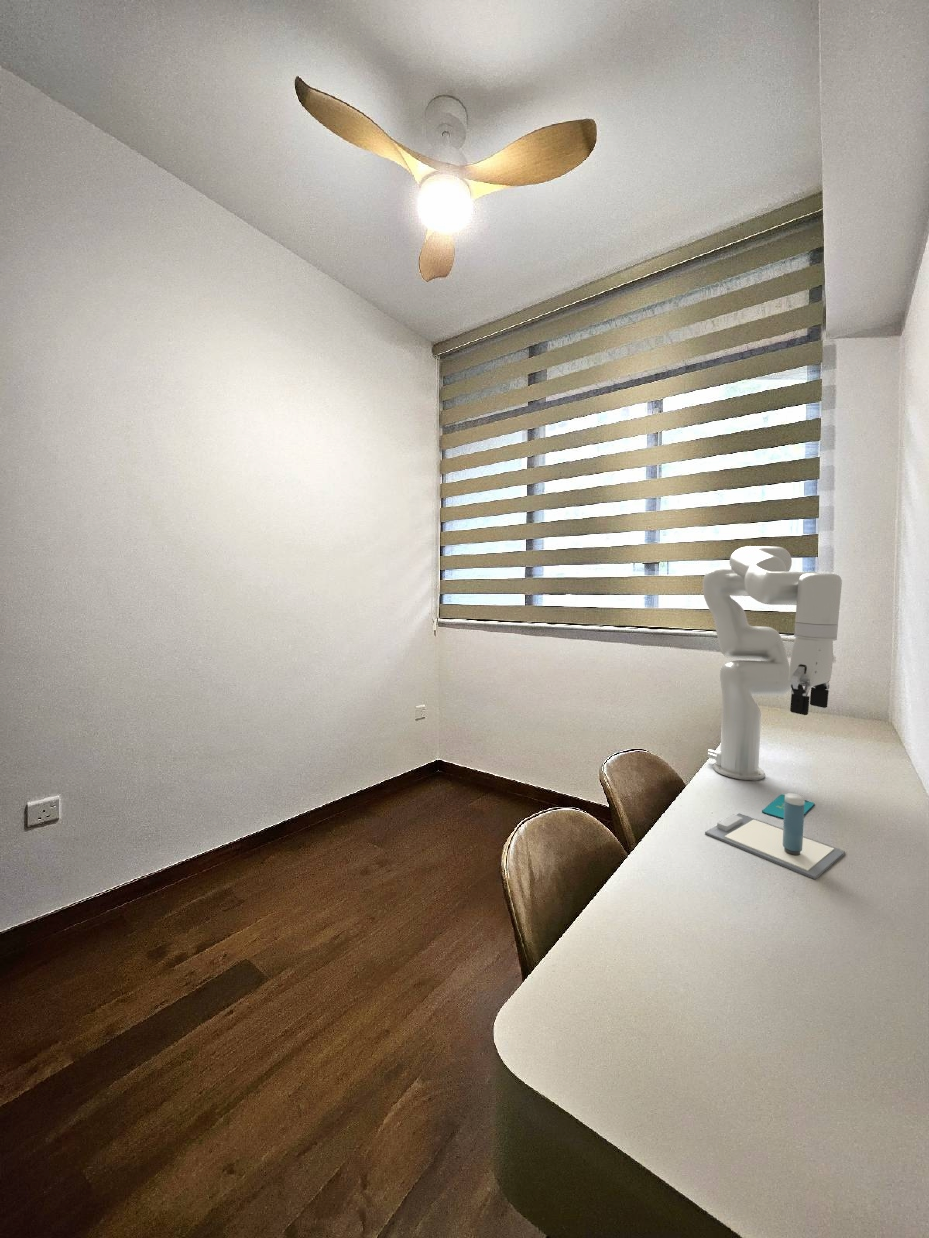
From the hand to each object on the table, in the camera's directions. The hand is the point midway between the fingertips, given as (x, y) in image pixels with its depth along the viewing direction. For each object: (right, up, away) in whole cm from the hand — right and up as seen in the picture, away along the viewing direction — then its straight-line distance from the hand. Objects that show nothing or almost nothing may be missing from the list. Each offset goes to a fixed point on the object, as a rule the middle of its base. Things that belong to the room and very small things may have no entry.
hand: (808, 709), depth 108 cm
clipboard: (-12, -26, -7) cm, 29 cm away
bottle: (-11, -25, -11) cm, 30 cm away
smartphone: (+2, -26, +10) cm, 27 cm away
